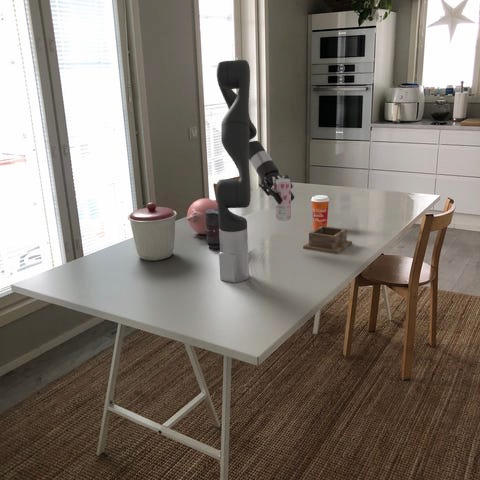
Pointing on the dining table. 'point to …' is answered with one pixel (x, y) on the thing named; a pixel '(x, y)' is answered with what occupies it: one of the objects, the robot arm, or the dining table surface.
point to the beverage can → (285, 193)
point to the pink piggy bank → (200, 214)
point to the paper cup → (320, 210)
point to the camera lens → (212, 229)
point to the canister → (153, 231)
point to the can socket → (328, 240)
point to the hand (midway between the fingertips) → (286, 200)
